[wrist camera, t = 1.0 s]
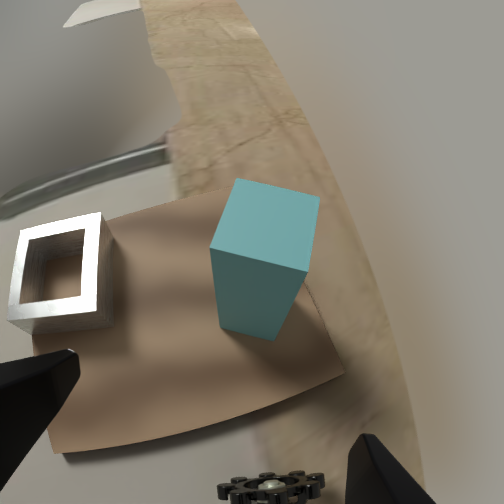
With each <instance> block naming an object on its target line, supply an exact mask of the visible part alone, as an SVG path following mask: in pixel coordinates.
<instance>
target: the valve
mask: <svg viewBox="0 0 504 504" xmlns="http://www.w3.org/2000/svg"><path fill="white" fill-rule="evenodd" d="M286 485H290V486H287V487H286ZM324 487H325V479H324V474H323V473H313V474H309V475H307V476H305V471H301V470H300V471H292V472H290V473H289V474H288V475H281V476H275V473H272V472H268V473H261V474H259V478H254V479H247V478H246V477H235V478H232V479H231V483H223V484H219V485H217V492H218V499H220V500H228V494H230V501H231V504H251V500H254V501H257V504H306V503H307V501H308V500H310V499H315V498H318V497H320V496H321V492H320V489H322V488H324ZM253 488H259V489H253ZM296 495H298V501H297V502H294V503H290V500H289V497H293V496H296Z"/></svg>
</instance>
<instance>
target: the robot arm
mask: <svg viewBox="0 0 504 504" xmlns="http://www.w3.org/2000/svg"><path fill="white" fill-rule="evenodd" d="M80 375H81V370H80V361H79V355H78V354H77V353H76V352H74V351H72V350H70V349H63V350H59V351H55V352H50V353H46V354H42V355H37V356H33V357H28V358H24V359H19V360H14V361H10V362H5V363H0V491H1V490H2V489H3V487H4V486H5V484H6V483H7V481H8V480H9V479H10V477H11V476H12V474H13V473H14V472H15V470H16V469H17V467H18V466H19V465H20V463H21V462H22V460H23V459H24V458H25V456H26V455H27V454H28V452H29V451H30V449H31V448H32V447H33V445H34V444H35V443H36V441H37V440H38V439H39V437H40V436H41V435H42V433H43V432H44V431H45V429H46V428H47V427H48V426H49V424H50V423H51V422H52V420H53V419H54V418H55V416H56V415H57V414H58V412H59V411H60V409H61V408H62V406H63V405H64V403H65V401H66V400H67V398H68V396H69V395H70V393H71V391H72V390H73V388H74V387H75V385H76V383H77V382H78V380H79V378H80ZM345 504H436V503H435V502H434V501H433V499H431V497H430V496H429V495H428V494H427V493H426V492H425V491H424V490H423V489H422V487H421V486H420V485H419V484H418V483H417V482H416V481H415V480H414V479H413V477H412V476H411V475H410V474H409V473H408V472H407V471H406V470H405V469H404V467H403V466H402V465H401V464H400V463H399V462H398V461H397V460H396V459H395V457H394V456H393V455H392V454H391V453H390V452H389V451H388V449H387V448H386V447H385V446H384V445H383V444H382V443H381V442H380V440H379V439H378V438H377V437H376V436H375V435H374V434H366V433H363V434H361V435H360V436H359V437H358V439H357V440H356V442H355V443H354V445H353V446H352V448H351V449H350V451H349V455H348V468H347V481H346V493H345Z"/></svg>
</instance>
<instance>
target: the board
mask: <svg viewBox="0 0 504 504" xmlns="http://www.w3.org/2000/svg"><path fill="white" fill-rule="evenodd" d="M253 182H254V181H253ZM232 189H233V186H230V187H226V188H222V189H218V190H214V191H210V192H206V193H202V194H198V195H195V196H191V197H187V198H183V199H180V200H176V201H172V202H169V203H165V204H161V205H158V206H154V207H151V208H147V209H144V210H141V211H137V212H134V213H130V214H127V215H124V216H121V217H117V218H114V219H111V220H108V221H105V222H106V223H107V225H108V227H109V229H110V231H111V233H112V235H113V237H114V242H113V317H114V327H107V328H98V329H89V330H79V331H69V332H58V333H46V334H33V335H32V342H33V352H34V356H37V355H42V354H46V353H50V352H55V351H59V350H63V349H70V350H72V351H74V352H76V353H77V354H78V355H79V361H80V370H81V375H80V378H79V380H78V382H77V383H76V385H75V387H74V388H73V390H72V391H71V393H70V395H69V396H68V398H67V400H66V401H65V403H64V405H63V406H62V408H61V409H60V411H59V412H58V414H57V415H56V416H55V418H54V419H53V420H52V422H51V423H50V424H49V426H48V427H47V430H48V434H49V438H50V442H51V445H52V449H53V452H54V454H56V453H68V452H78V451H87V450H95V449H102V448H109V447H115V446H121V445H127V444H132V443H137V442H142V441H147V440H152V439H157V438H161V437H166V436H170V435H174V434H178V433H182V432H186V431H190V430H193V429H197V428H201V427H204V426H208V425H211V424H215V423H218V422H221V421H224V420H228V419H231V418H234V417H237V416H240V415H243V414H246V413H249V412H252V411H255V410H257V409H260V408H263V407H266V406H268V405H271V404H274V403H276V402H279V401H282V400H284V399H287V398H289V397H292V396H294V395H297V394H299V393H302V392H304V391H306V390H309V389H311V388H313V387H316V386H318V385H320V384H322V383H325V382H327V381H329V380H331V379H333V378H336V377H338V376H340V375H342V374H344V373H346V372H345V370H344V368H343V366H342V363H341V361H340V359H339V357H338V355H337V352H336V350H335V348H334V346H333V344H332V341H331V339H330V337H329V335H328V333H327V331H326V328H325V326H324V324H323V322H322V320H321V318H320V315H319V313H318V311H317V309H316V307H315V305H314V303H313V301H312V298H311V296H310V294H309V292H308V290H307V288H306V286H305V284H304V282H303V283H302V285H301V287H300V290H299V292H298V294H297V296H296V298H295V300H294V302H293V304H292V306H291V308H290V310H289V312H288V314H287V316H286V318H285V320H284V322H283V324H282V326H281V328H280V330H279V332H278V334H277V336H276V338H275V340H274V341H270V340H266V339H262V338H258V337H254V336H250V335H246V334H242V333H238V332H235V331H231V330H227V329H223V328H220V325H219V318H218V311H217V303H216V296H215V288H214V281H213V273H212V265H211V256H210V248H209V247H210V245H211V242H212V240H213V237H214V234H215V232H216V229H217V227H218V224H219V221H220V219H221V216H222V214H223V211H224V209H225V206H226V204H227V201H228V199H229V196H230V194H231V191H232ZM82 267H83V254H78V255H73V256H67V257H62V258H56V259H51V260H47V263H46V271H45V280H44V290H43V301H49V300H57V299H64V298H72V297H79V296H81V286H82Z"/></svg>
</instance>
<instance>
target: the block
mask: <svg viewBox="0 0 504 504" xmlns="http://www.w3.org/2000/svg"><path fill="white" fill-rule="evenodd" d="M319 201H320V197H317V196H313V195H309V194H305V193H301V192H297V191H292V190H288V189H284V188H280V187H276V186H271V185H267V184H262V183H258V182H253V181H249V180H244V179H239V178H237V179H236V181H235V184H234V186H233V189H232V191H231V194H230V196H229V199H228V201H227V204H226V206H225V209H224V211H223V214H222V216H221V219H220V221H219V224H218V227H217V229H216V232H215V234H214V237H213V240H212V242H211V245H210V247H209V248H210V256H211V265H212V273H213V281H214V288H215V296H216V303H217V311H218V318H219V325H220V328H223V329H227V330H231V331H235V332H238V333H242V334H246V335H250V336H254V337H258V338H262V339H266V340H270V341H274V340H275V338H276V336H277V334H278V332H279V330H280V328H281V326H282V324H283V322H284V320H285V318H286V316H287V314H288V312H289V310H290V308H291V306H292V304H293V302H294V300H295V298H296V296H297V294H298V292H299V290H300V287H301V285H302V283H303V281H304V279H305V277H306V275H307V273H308V268H309V263H310V257H311V251H312V245H313V239H314V233H315V227H316V221H317V214H318V208H319Z"/></svg>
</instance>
